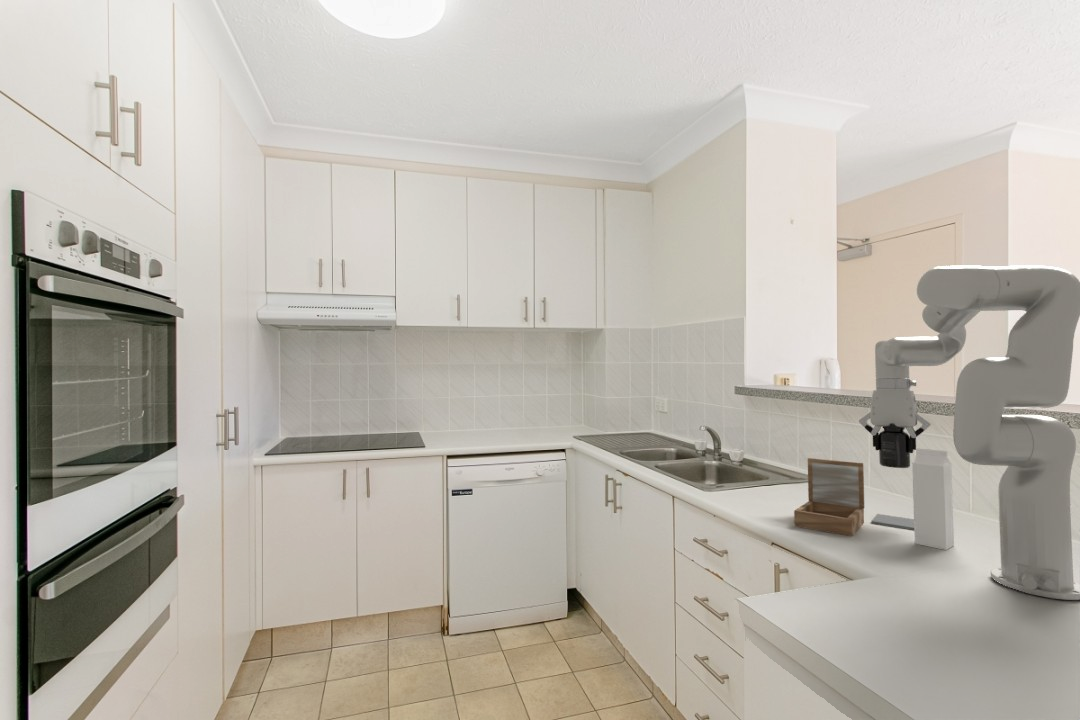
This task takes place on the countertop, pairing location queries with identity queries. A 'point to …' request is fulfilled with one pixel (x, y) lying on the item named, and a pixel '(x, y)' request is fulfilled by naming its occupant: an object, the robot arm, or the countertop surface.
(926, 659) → the countertop surface
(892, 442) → the supplement bottle
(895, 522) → the slate tile
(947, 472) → the milk
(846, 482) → the box
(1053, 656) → the countertop surface
